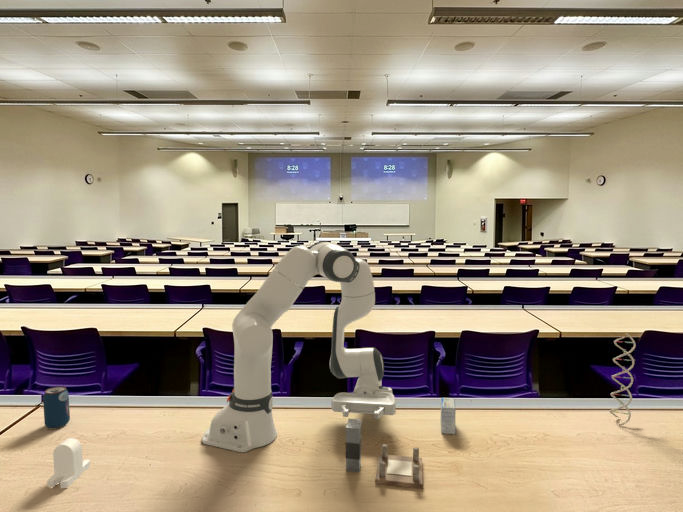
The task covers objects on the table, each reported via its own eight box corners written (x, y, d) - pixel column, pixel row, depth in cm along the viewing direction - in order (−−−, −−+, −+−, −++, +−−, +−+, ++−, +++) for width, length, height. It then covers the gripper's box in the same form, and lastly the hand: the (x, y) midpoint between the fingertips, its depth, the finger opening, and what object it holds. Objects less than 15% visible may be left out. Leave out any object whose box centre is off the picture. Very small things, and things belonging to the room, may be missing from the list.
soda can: (74, 423, 142) (72, 388, 141) (51, 432, 136) (48, 395, 135) (63, 418, 146) (61, 383, 145) (40, 426, 140) (38, 390, 139)
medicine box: (455, 435, 135) (456, 408, 135) (440, 433, 136) (441, 407, 135) (453, 423, 143) (454, 398, 142) (440, 422, 144) (440, 397, 143)
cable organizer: (46, 488, 108) (44, 450, 107) (72, 466, 118) (70, 431, 117) (67, 489, 108) (64, 451, 107) (91, 466, 118) (89, 431, 117)
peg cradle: (375, 483, 111) (375, 466, 110) (379, 457, 122) (379, 442, 122) (422, 488, 109) (423, 471, 108) (421, 461, 120) (422, 446, 120)
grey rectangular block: (345, 472, 115) (345, 427, 114) (348, 461, 121) (348, 418, 119) (359, 474, 115) (359, 428, 114) (361, 463, 120) (361, 419, 119)
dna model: (608, 416, 148) (614, 331, 146) (631, 421, 145) (637, 334, 142) (607, 423, 143) (612, 335, 140) (630, 429, 139) (636, 338, 136)
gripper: (335, 385, 144) (326, 403, 130) (396, 388, 140) (394, 407, 127) (335, 403, 144) (327, 423, 131) (396, 407, 141) (394, 427, 127)
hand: (360, 415), depth 129 cm, fingers open, 8 cm apart
